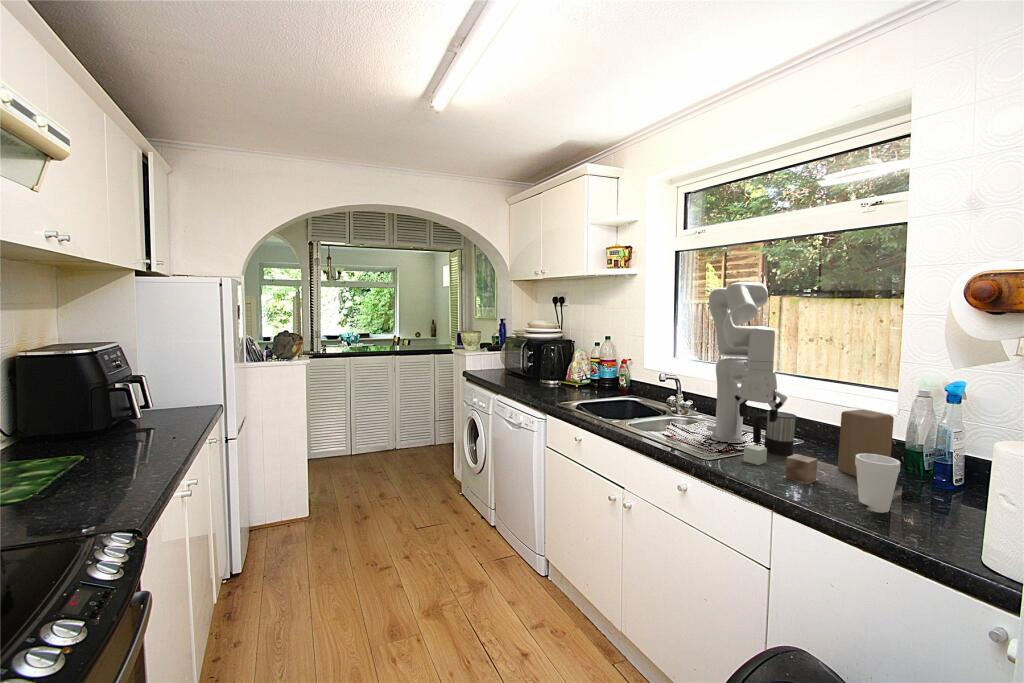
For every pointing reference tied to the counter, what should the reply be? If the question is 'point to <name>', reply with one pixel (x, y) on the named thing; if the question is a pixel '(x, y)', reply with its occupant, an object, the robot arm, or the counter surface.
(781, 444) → the milk frother
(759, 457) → the sage block
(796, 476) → the walnut block
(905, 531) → the counter surface
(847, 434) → the block
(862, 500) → the foam cup
